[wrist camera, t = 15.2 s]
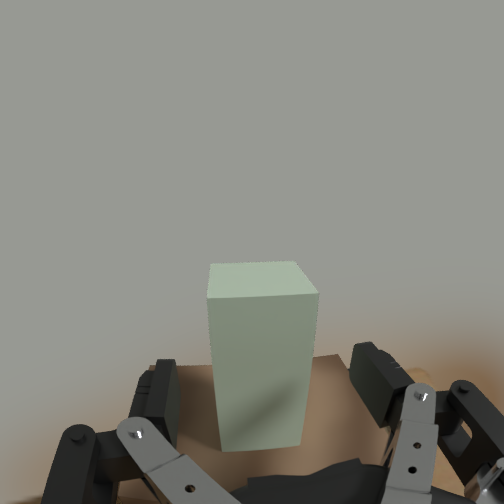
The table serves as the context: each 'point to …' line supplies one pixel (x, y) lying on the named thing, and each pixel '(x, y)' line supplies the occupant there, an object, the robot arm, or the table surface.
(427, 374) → the table surface
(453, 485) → the table surface
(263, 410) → the sage block
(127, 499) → the walnut box
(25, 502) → the table surface
